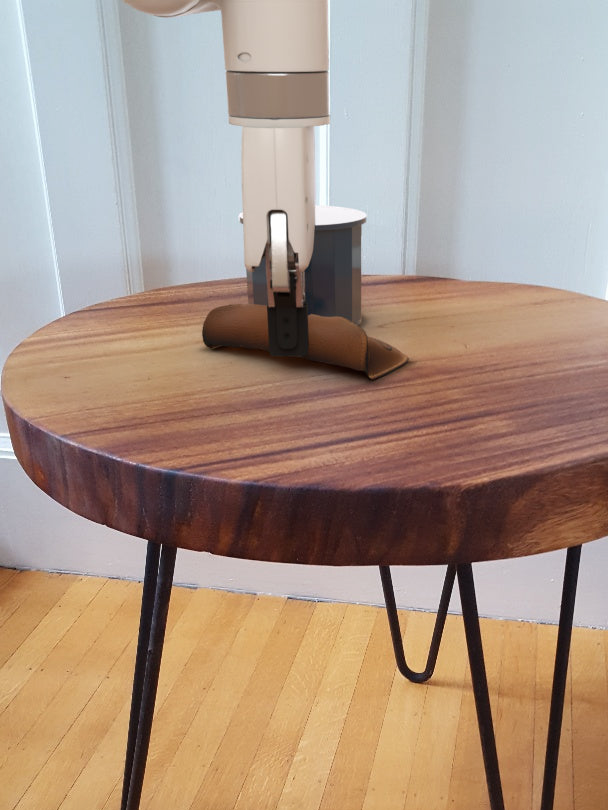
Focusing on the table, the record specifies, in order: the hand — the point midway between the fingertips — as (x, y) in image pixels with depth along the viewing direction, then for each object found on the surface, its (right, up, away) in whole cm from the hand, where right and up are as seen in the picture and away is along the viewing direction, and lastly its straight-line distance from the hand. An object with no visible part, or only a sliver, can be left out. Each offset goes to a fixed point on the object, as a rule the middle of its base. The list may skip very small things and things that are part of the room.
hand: (289, 353), depth 80 cm
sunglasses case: (+1, +2, +7) cm, 7 cm away
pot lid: (0, +17, +12) cm, 21 cm away
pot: (0, +9, +18) cm, 20 cm away
